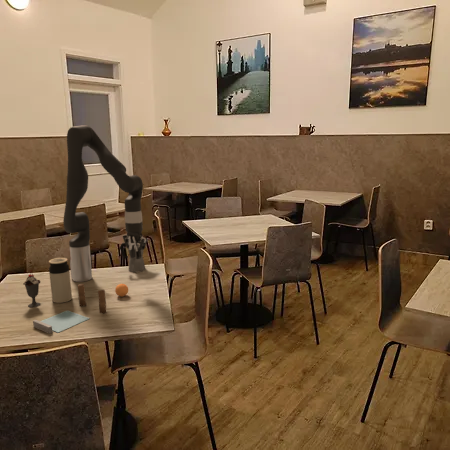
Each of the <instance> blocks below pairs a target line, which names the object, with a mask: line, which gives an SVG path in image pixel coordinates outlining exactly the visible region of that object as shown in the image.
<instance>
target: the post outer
mask: <svg viewBox="0 0 450 450" xmlns="http://www.w3.org/2000/svg"><path fill="white" fill-rule="evenodd" d="M97 295H98V307H99V308H98V309H99V310H98V311H99V314H105V313H107V305H106V301H107V300H106V291H105V289H98V291H97Z"/></svg>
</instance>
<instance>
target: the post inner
mask: <svg viewBox="0 0 450 450" xmlns="http://www.w3.org/2000/svg"><path fill="white" fill-rule="evenodd" d="M77 291H78V300H79V301H78V303H79V304H78V305H79V307H85V306H87V299H86V289H85V284H84V283H80V284H78V285H77Z"/></svg>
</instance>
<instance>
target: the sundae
mask: <svg viewBox="0 0 450 450" xmlns="http://www.w3.org/2000/svg"><path fill="white" fill-rule="evenodd" d="M29 271H30V273H29V274H28V276H27V278H26V279H25V281H24V282H23V284H22V286H25V287H24V288H25V290H26V293H27V296H28V297H30V298H31V303H29V304H27V307H28V308H37V307H39V306H41V304H42V303H41V302H37V301H36V297H38V295H39V292H40V291H39V289H40V288H39V286H40V284H41V280H40V279H37V278H36V277H35V275H34V274H33V270H32V269H30V270H29Z"/></svg>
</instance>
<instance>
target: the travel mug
mask: <svg viewBox="0 0 450 450" xmlns="http://www.w3.org/2000/svg"><path fill="white" fill-rule="evenodd" d="M48 263H49V267H48V272H49V282H50V291H51V299H52V302H53V303H57V304H60V303H61V304H63V303H67V302H69V301H71V300H72V299H73V296H72V283H71V271H70V265H69V264H68V258H67V257H55V258H52V259H50V260H48Z"/></svg>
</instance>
